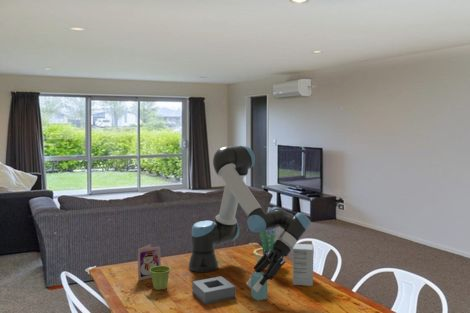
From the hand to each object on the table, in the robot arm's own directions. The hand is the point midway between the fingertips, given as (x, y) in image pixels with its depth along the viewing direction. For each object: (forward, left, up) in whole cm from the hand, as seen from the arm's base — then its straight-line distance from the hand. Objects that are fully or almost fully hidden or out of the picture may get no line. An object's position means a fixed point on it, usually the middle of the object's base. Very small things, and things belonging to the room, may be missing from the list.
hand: (251, 287), depth 177 cm
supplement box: (+8, +30, -5) cm, 32 cm away
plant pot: (-40, -15, -5) cm, 43 cm away
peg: (+2, +3, -5) cm, 6 cm away
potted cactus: (-17, +38, -5) cm, 42 cm away
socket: (-15, -7, -5) cm, 17 cm away
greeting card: (-56, -9, -5) cm, 57 cm away
